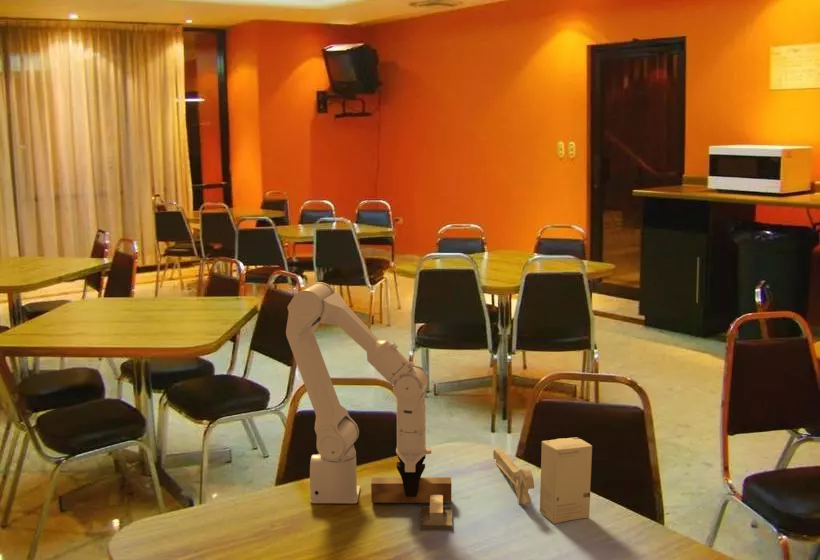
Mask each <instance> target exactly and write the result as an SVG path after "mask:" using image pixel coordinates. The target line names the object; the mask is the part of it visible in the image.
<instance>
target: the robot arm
mask: <svg viewBox="0 0 820 560" xmlns="http://www.w3.org/2000/svg"><path fill="white" fill-rule="evenodd" d="M286 308H287V311H288V315H287V322H286V328H285V335H286V339H287V341H288V344H289V347H290V349H291V352H292V355H293V358H294V360H295V363H296V366H297V368H298V370H299V373H300V376H301V379H302V381H303V384H304V387H305V389H306V393H307V395H308V398H309V401H310V403H311V405H312V409H313V411H314V414H315V422H314V431H315V434H316V446H315V447H316V450H317V452H318V453H317V454H314V453H313V454H312V455H311V457H310V464H309V482H310V483H309V486H310V487H309V489H310V500H309V501H310V503H311V504H357V503H358V500H359V495H360V491H361V485H358V483H357V480H358V479H357V451H356V448H355V445H354V443H355V442H357V440H358V438H359V435H360V429H359V426H358V424H357V423H356V422H355V420H354V419H353V418H352V417H350V414H349V411H348V410H347V408H345V407H344V406H342V405H341V403H340V401H339V398H338V395H337V392H336V390H335V387H334V384H333V382H332V379H331V376H330V374H329V370H328V368H327V365H326V363H325V359H324V356H323V355H322V352H321V349H320V346H319V343H318V341H317V339H316V336H315V333H316V330H317V328H318V327H319V325H320V324H321V325H333V326H337V327H338V328H339V329H340V330H341V331H343V332H344V333H345V334H346V335H347V336H349V337H350V338H351V339H352V340H353V341H354V342H355V343H356V344H357V345H359V347H360V348H361V349H363V350H364V351H365V352H366V360H367V362H368V363H369V364H370V365H371V366H372V367H373V368H374V369H375V370H376V372H378V374H379V375H380V376H382V377H383V378H384V379H385V380H386V381H387V383H389V384H390V385H392V392H393V394H394V396H395V398H396V448H395V454H396V455H397V459H398V460H399V461H397V462H396V470H397V471H398V473H399V475H400V478H402V481H403V486H404V491H405V495H406V497H416V496H417V492H418V487H419V481H420V478H422V475H423V472H424V471H425V469H426V463H424V461H425V459H426V455H431V454H432V447H428V446H427V447H426V442H427V441H426V438H427V437H426V434H427V433H426V392H424V391H425V390H426V388H427V387H428V383H429V378H428V375H427V373H426V371H425V370H424V368H423V367H422V366H419V365H417V364H415V363H414V362H413V361H412V360H411V361H409V360H408V358H407V357H405V356H404V355H403V354H402V353H401V352H400V351H399V350H398V347H399V346H398V345H397V344H396V342H392V343H391V342H390V341H389V340H387V339H378V337H377V336H376V335H375V334H374V333H373V332H372V330H371V329H369V327H368V326H367V325H366V324H365V323H364V322H363V321H362V320H361V319H360V317H359V316H358V315H357V313H355V312H354V311H353V310H352V309H351V308H350V306H349V305H348V304H347V303H346V301H345V300H344V298H343V296H342V295H341V294H339V293H338V292H335V290H334V289H333V287H332V286H331V285H330V284H328V283H326V282H322V281H319V282H317V281H316V282H315V283H312V284H310V285H309V286H308V287H307V288H305V289H302V290H300V291H298V292H297V293H296V294H295V295H294V296H293V297H292V299H291V301H290V302H289V303H288V305H287V307H286Z"/></svg>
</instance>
